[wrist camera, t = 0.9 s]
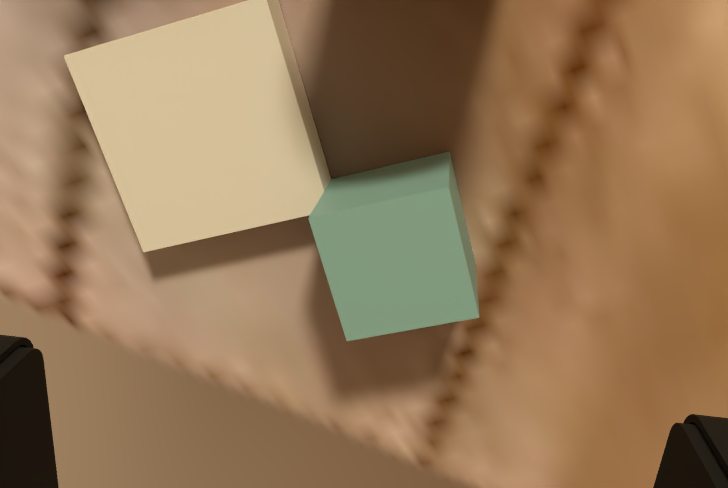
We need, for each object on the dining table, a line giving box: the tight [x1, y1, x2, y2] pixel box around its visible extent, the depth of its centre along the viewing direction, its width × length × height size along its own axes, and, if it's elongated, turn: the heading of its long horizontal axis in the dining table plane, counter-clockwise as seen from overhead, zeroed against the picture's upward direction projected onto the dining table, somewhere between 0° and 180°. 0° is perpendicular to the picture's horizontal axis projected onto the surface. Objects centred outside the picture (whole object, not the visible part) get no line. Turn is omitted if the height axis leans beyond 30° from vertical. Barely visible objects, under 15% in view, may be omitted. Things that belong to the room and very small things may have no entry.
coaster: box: [64, 0, 331, 252], centre depth 33 cm, size 10×10×2 cm
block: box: [308, 152, 479, 341], centre depth 32 cm, size 6×6×6 cm
